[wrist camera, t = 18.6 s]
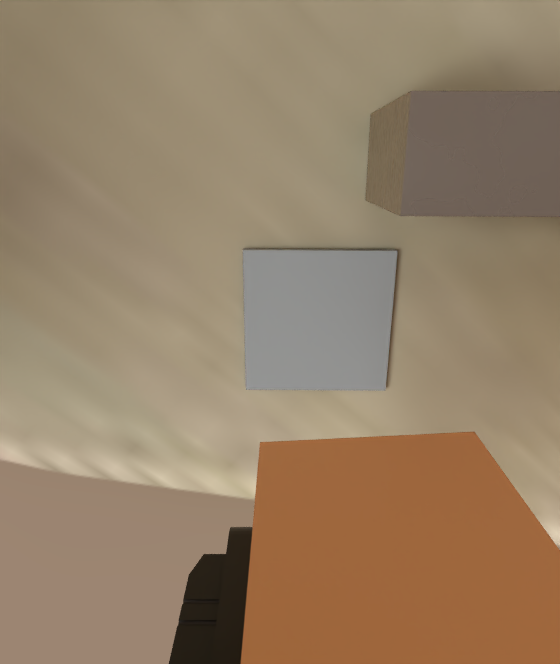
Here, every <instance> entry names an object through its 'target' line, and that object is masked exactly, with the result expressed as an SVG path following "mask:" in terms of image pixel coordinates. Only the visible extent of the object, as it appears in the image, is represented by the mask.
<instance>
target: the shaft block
mask: <svg viewBox="0 0 560 664" xmlns="http://www.w3.org/2000/svg"><path fill="white" fill-rule="evenodd" d="M366 201H368V202H370V203H373V204H375V205H377V206H379V207H382V208H384V209H386V210H388V211H391V212H393V213H395V214H397V215H400V216H532V217H560V92H553V91H410V92H408V93H407V94H405V95H403V96H401V97H400V98H398V99H396V100H394V101H393V102H391V103H389V104H387V105H386V106H384V107H382V108H380V109H379V110H377V111H375V112H373V113H372V114H371V118H370V134H369V151H368V167H367V183H366Z"/></svg>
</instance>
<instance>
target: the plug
mask: <svg viewBox="0 0 560 664" xmlns="http://www.w3.org/2000/svg"><path fill="white" fill-rule="evenodd" d="M241 664H560V550H559V549H558V547H557V546H556V545H555V543H554V542H553V540H552V539H551V538H550V536H549V535H548V534H547V532H546V531H545V529H544V528H543V527H542V525H541V524H540V522H539V521H538V520H537V518H536V517H535V515H534V514H533V513H532V511H531V510H530V509H529V507H528V506H527V504H526V503H525V502H524V500H523V499H522V497H521V496H520V495H519V493H518V492H517V490H516V489H515V488H514V486H513V485H512V483H511V482H510V481H509V479H508V478H507V477H506V475H505V474H504V472H503V471H502V470H501V468H500V467H499V465H498V464H497V463H496V461H495V460H494V458H493V457H492V456H491V454H490V453H489V452H488V450H487V449H486V447H485V446H484V445H483V443H482V442H481V440H480V439H479V438H478V436H477V435H476V433H475V432H460V433H440V434H420V435H399V436H379V437H359V438H339V439H319V440H298V441H278V442H260V450H259V462H258V473H257V484H256V496H255V507H254V519H253V530H252V541H251V552H250V564H249V575H248V586H247V598H246V609H245V620H244V632H243V643H242V654H241Z"/></svg>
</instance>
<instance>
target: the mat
mask: <svg viewBox="0 0 560 664" xmlns="http://www.w3.org/2000/svg"><path fill="white" fill-rule="evenodd" d="M396 263H397V250H362V249H243V277H244V323H245V369H246V390H376V391H386V379H387V368H388V356H389V344H390V333H391V321H392V309H393V298H394V286H395V274H396Z"/></svg>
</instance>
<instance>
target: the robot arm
mask: <svg viewBox="0 0 560 664" xmlns="http://www.w3.org/2000/svg"><path fill="white" fill-rule="evenodd" d="M252 530H253V527H231V528H230V531H229V538H228V545H227V552H226V554H204V555H203V556H202V558H201V559H200V560H199V562H198V563H197V564H196V566H195V567H194V569H193V570H192V571H191V573H190V574H189V577H188V582H187V586H186V591H185V595H184V600H183V605H182V608H181V613H180V617H179V624H178V626H177V630H176V635H175V639H174V644H173V648H172V653H171V657H170V661H169V664H241V654H242V643H243V632H244V620H245V609H246V598H247V586H248V575H249V564H250V552H251V541H252Z"/></svg>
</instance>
